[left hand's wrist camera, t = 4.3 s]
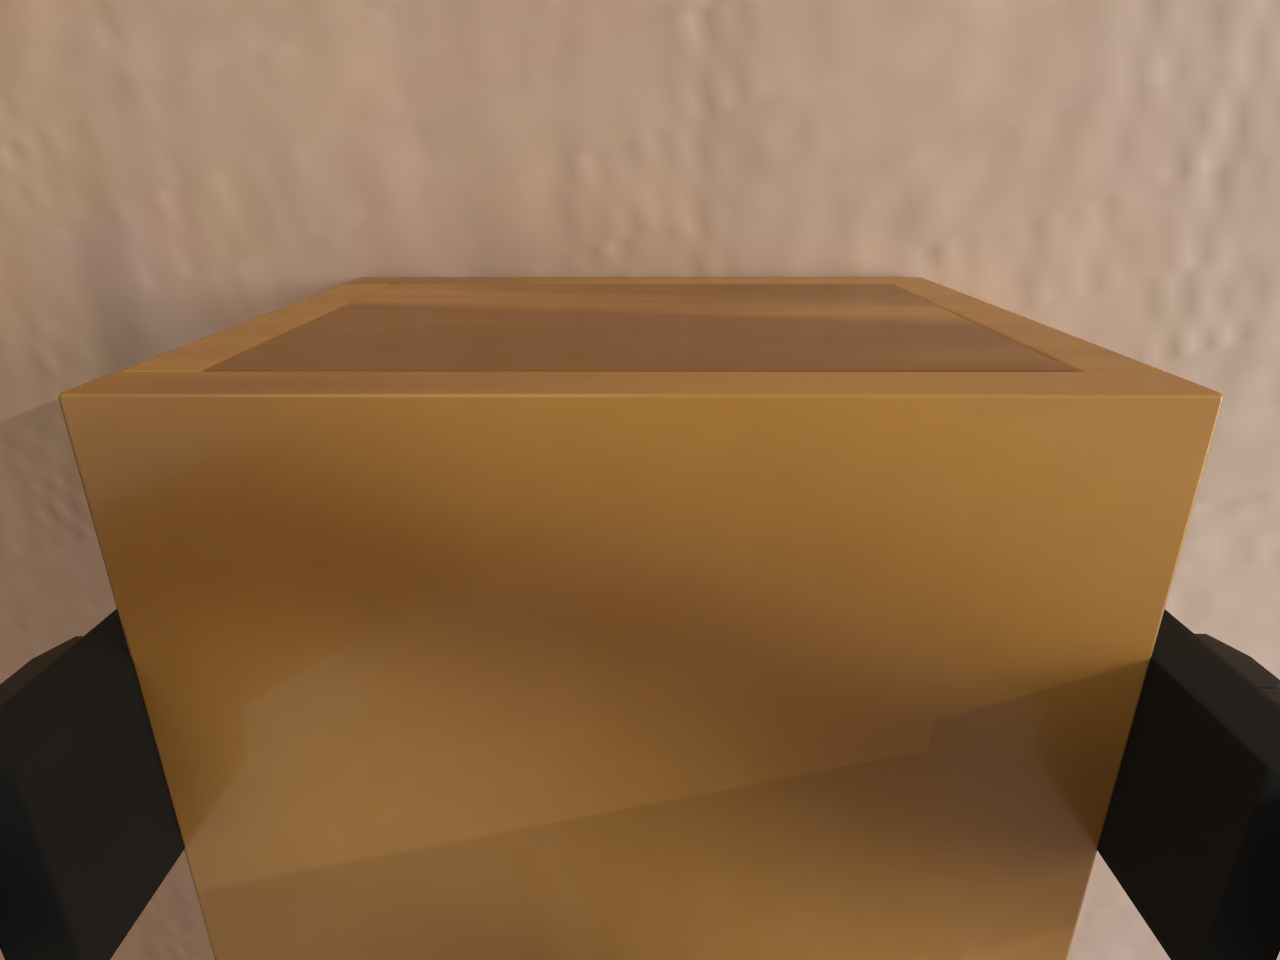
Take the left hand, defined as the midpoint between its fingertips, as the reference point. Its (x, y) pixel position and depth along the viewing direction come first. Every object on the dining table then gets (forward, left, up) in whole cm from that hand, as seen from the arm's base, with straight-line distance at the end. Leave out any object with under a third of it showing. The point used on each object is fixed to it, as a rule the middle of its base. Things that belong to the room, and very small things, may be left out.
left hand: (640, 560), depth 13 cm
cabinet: (+6, +2, -4) cm, 8 cm away
